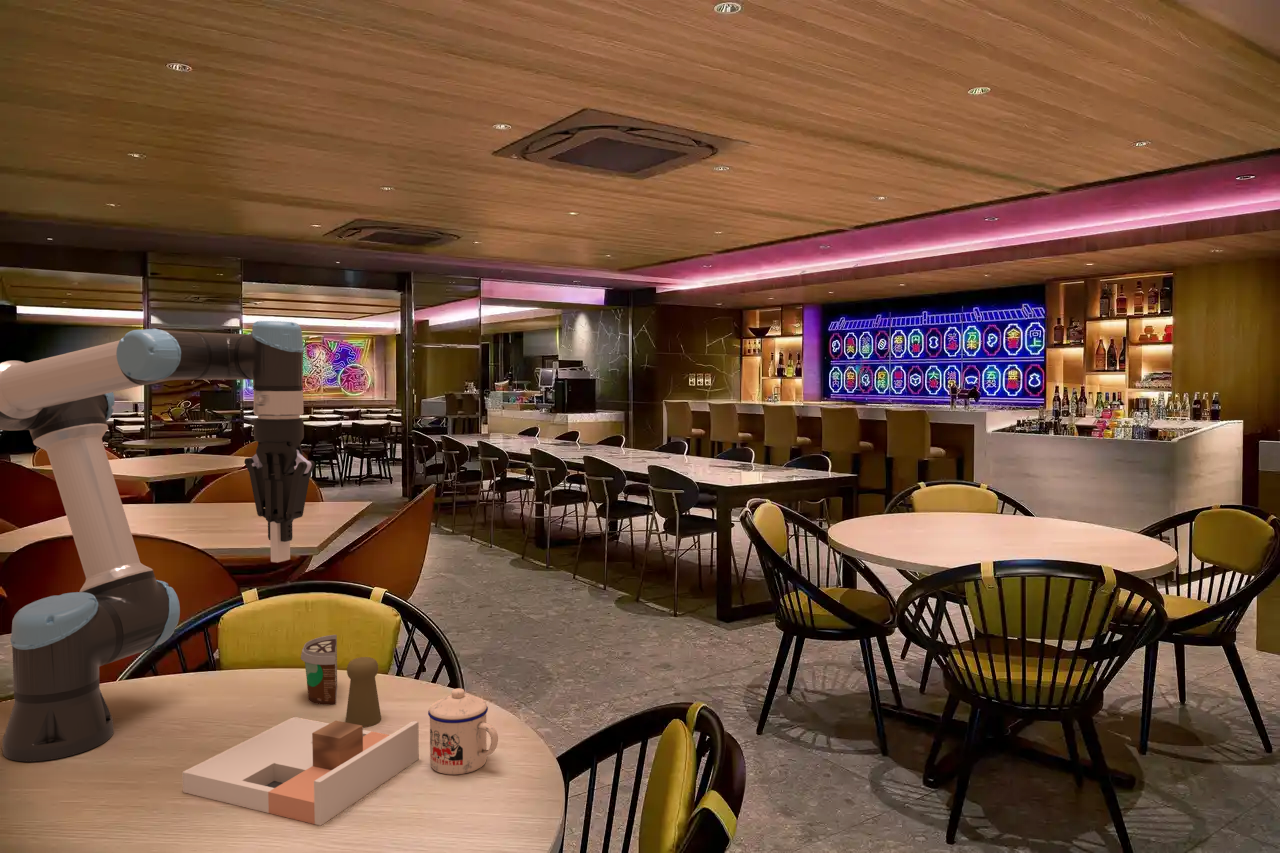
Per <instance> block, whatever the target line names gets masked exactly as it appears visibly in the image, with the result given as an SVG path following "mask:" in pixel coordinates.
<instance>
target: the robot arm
mask: <svg viewBox="0 0 1280 853" xmlns="http://www.w3.org/2000/svg"><path fill="white" fill-rule="evenodd" d="M304 351H305V348H304V344H303V330H302V327H301V326H300V324H298V323H296V322H292V321H281V320H280V321H279V320H278V321H277V320H276V321H275V320H263V321H262V320H259V321H255V322H253V323H252V331H251V333H246V334H245V333H223V332H221V333H219V332H217V333H216V332H199V331H179V330H167V329H158V328H146V329H133V330H130V331H128V332H127V333H125V334H124V336H123V337H122V338H120V340H116V341H111V342H107V343H103V344H100V345H95V346H91V347H87V348H83V349H79V350H75V351H71V352H66V353H63V354H59V355H58V354H57V355H54V356H50V357H46V358H41V359H39V360H33V361H30V362H25V361H21V360H6V361H2V362H0V430H1V431H11V432H12V431H29V433H30V436H31V439H32V443H33V445H34V446H36V447H38V448H40V449H42V450H44V451H46V453H47V457H48V459H49V462H50V466H51V470H52V473H53V475H54V479H55V482H56V486H57V489H58V491H59V496H60V498H61V503H62V505H63V508H64V512H65V514H66V519H67V521H68V525H69V527H70V530H71V534H72V537H73V540H74V544H75V547H76V550H77V554H78V557H79V560H80V563H81V566H82V567H81V568H82V570H83V573H84V576H85V581H84V583H83V585H82V587H81V588H80V590H79V592H78V591H76V592H67V593H62V594H59V595H50V596H47V597H43V598H41V599H38V600H34V601H32V602H31V603H28V604H26V605H24V606H23V607H22V608H20V609H19V610H18V611H17V612H16V613H15V614H14V617H13V618H12V622H11V623H12V624H11V634H10V644H11V647H12V648H11V649H12V650H11V651H12V652H11V653H12V673H13V674H12V675H13V676H12V677H13V698H14V699H13V700H14V702H13V707H12V710H11V713H10V716H9V719H8V723H7V726H6V727H5V728H6V729H5V733H4V734H3V736H2V754H3V756H4V757H5V758H6V759H8V760H12V761H17V762H41V761H42V762H43V761H51V760H57V759H62V758H66V757H70V756H76V755H78V754H80V753H84V752H87V751H89V750H92V749H94V748H96V747H99V746H101V745H102V744H104V743H106V742H107V741H108V740H109V739H111V737H112V736H113V734H114V719H113V718H114V717H113V716H112V714H111V711H110V709H109V707H108V705H107V701H106V700H105V698H104V696H103V693H102V691H101V688H100V687H101V686H100V667H102V666H105V665H108V664H110V663H113V662H117V661H120V660H121V659H125V658H127V657H131V656H133V655H136V654H140V653H144V652H147V651H149V650H151V649H153V648H155V647H157V646H160V645H162V644H163V643H165V642H166V641H167V640H169V639H170V638H171V636H172V635H173V634H174V632H175V630H176V627H177V626H178V624H179V621H180V614H181V607H180V600H179V597H178V594H177V593H176V591H175V589H174V588H173V587H172V586H169V583H168V582H166V581H163V580H158V579H156V576H155V575H156V574H155V573H154V569H153V568H151V567H150V566H146V565H145V564H143V563H141V561H140V558H139V557H140V556H139V554H138V551H137V547H136V544H135V541H134V537H133V535H132V531H131V528H130V525H129V522H128V519H127V516H126V511H125V509H124V506H123V502H122V499H121V496H120V494H119V490H118V486H117V484H116V480H115V477H114V474H113V471H112V468H111V465H110V464H111V463H110V461H109V458H108V454H107V452H106V447H105V445H104V442H103V437H104V435H105V433H106V432H107V431H108V430H109V426H108V423H107V422H108V420H110V419H111V417H112V415H113V413H114V408H113V407H114V406H115V401H116V400H115V393H114V392H119V391H124V390H128V389H133V388H137V387H141V386H146V385H153V384H156V383H158V384H159V383H161V382H167V381H176V380H177V381H179V380H188V381H190V380H199V381H201V380H206V381H207V380H212V381H213V380H218V381H222V380H249V381H252V385H253V386H252V390H253V392H252V393H253V414H254V415H255V416H257V418H255V419H254V420H253V440H254V441H255V442H257V447H256V450H255V454H254V455H253V456H251V457H247V458H245V459H244V462H243V464H245V467H246V469H247V471H248V473H249V479H250V483H251V488H252V489H251V490H252V494H253V498H254V503H255V509H256V514H257V516H258V517H263V518H265V520H266V521H267V538H268V540H269V541H270V562H271V563H277V564H278V563H281V562H286V561H289V560H291V541H292V540H293V522H294V520H296V519H299V518H302V517H303V516H304V512H305V511H304V510H305V505H306V500H307V495H308V488H309V485H310V484H309V483H310V477H311V474H312V472H313V470H314V468H315V465H316V463H315V461H313V460H307V458H305V457H304V456H303V455H304V453H303V450H302V447H301V442H302V441H303V440H304V437H305V430H304V428H305V427H304V420H303V418H302V417H301V418H300V416H302V415H303V414H304V413H305V412H304V386H303V376H304V374H303V373H304V372H303V370H304Z"/></svg>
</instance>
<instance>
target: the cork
mask: <svg viewBox="0 0 1280 853" xmlns="http://www.w3.org/2000/svg"><path fill="white" fill-rule="evenodd" d="M378 672H379V664H378V662H377V660H376V659H375V658H372V657H368V656H360V657H357V658H354V659H352V660H350V661H349V663H348V664H347V668H346V674H347V677H348V678H349V679H350V682H349V690H348V697H347V707H346V713H345V714H346V715H345V722H346V723H352V724H357V725H362V726H363V728H369V727H372V726H375V725H377V724H379V723H380V722H381V721H382V714H381V707H380V701H379V695H378V689H377V682H376V676H377V674H378Z"/></svg>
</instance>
